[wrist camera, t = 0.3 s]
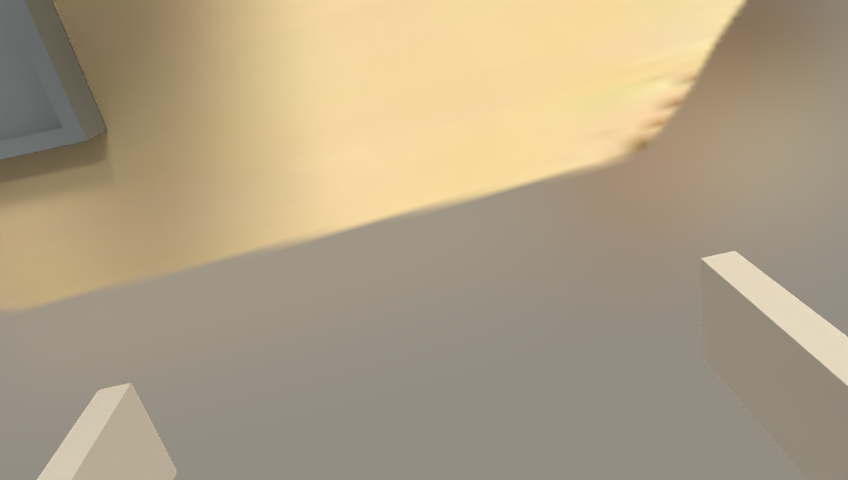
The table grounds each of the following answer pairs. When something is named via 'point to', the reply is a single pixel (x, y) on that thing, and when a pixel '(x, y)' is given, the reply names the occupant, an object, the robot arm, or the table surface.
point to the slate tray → (41, 83)
